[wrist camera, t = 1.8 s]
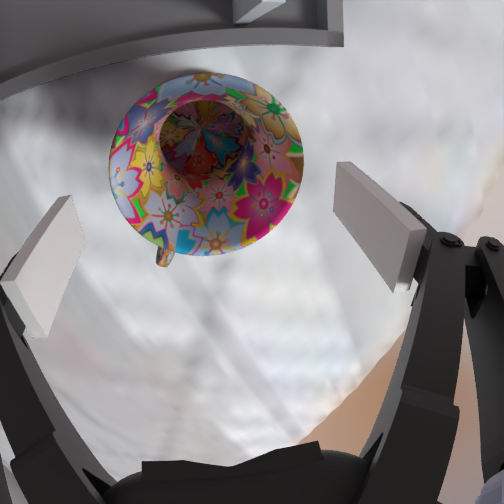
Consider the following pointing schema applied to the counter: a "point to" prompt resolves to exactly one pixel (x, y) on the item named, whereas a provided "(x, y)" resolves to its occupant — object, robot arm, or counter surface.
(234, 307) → the counter surface
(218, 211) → the mug
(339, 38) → the grey tray
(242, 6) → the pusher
